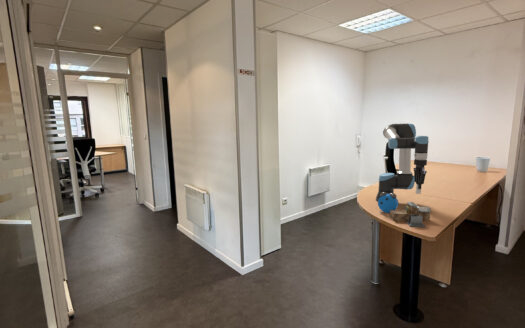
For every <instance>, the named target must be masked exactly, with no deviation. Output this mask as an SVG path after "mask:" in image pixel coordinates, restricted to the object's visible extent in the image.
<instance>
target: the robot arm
mask: <svg viewBox="0 0 525 328" xmlns="http://www.w3.org/2000/svg"><path fill="white" fill-rule="evenodd" d="M382 135H383V137H384V138H386V139H387V140H388V142H387V143H388V145H387V146H388V148H389V149H393V150H396V149H399V150H398V152H399V153H398V155H399V156H398V171H397V172H396V174H395V173H393V172H384V173H381V174H379V176H378V192H377V194H376V197H375V201H377V202H378V200H379V198H380V197H382V196H380V194H381V193H382V192H386V193H387V194H388V193H389V194H391V193H394V192H395V191H394V190H404V191H405V190H412V189H413V188H414V186H415V194H417V195H418V194H422V186H423V185H424V183H425V179H426V174H427V172H428V171H427V170H425V166H427V164H428V154H429V153H428V151H429V150H428V149H429V136H428V135H417V129H416V126H415V124H413V123H392V124H389V125H387V126H385V127H384V128H383V130H382ZM412 149H414V154H413V156H414V159H413V165H415V167H413V172H412V171H411V165H412V164H411V161H412V160H411V157H412ZM413 174H414V175H413ZM394 194H395V193H394Z"/></svg>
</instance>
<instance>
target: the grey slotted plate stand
mask: <svg viewBox="0 0 525 328" xmlns="http://www.w3.org/2000/svg"><path fill="white" fill-rule="evenodd" d="M422 219H423V217H421V215H409V221H405V224H407V225H408V226H409V227H410V228H411V227H412V228H414V227H415V228H426V225H425V224H424V223H423V220H422Z"/></svg>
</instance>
